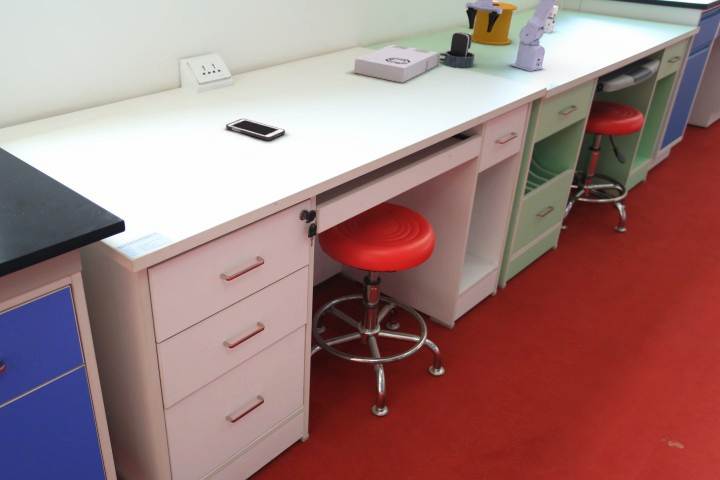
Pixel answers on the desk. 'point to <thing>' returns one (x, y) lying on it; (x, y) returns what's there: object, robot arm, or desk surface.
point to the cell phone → (255, 129)
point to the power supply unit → (396, 63)
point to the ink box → (551, 20)
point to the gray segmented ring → (458, 60)
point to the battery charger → (460, 44)
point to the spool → (499, 28)
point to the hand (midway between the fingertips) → (480, 30)
